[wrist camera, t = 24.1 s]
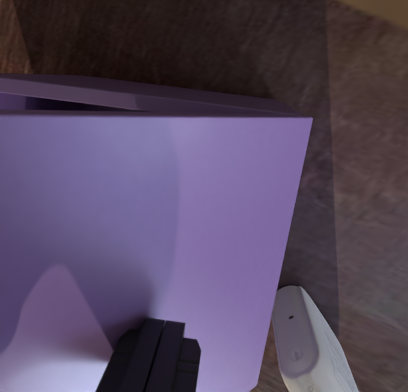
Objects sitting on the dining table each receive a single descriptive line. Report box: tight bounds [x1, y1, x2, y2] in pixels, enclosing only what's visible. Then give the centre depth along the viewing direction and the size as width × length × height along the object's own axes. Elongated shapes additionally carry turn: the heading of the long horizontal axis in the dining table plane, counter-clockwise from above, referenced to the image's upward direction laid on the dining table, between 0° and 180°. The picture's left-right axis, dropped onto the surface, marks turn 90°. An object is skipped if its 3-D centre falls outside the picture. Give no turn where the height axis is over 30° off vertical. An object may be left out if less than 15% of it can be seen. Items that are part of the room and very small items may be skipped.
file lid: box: [0, 109, 313, 392], centre depth 14 cm, size 18×17×1 cm
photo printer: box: [272, 286, 359, 392], centre depth 32 cm, size 10×4×12 cm, turn 33°
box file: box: [0, 73, 304, 116], centre depth 27 cm, size 18×17×14 cm
